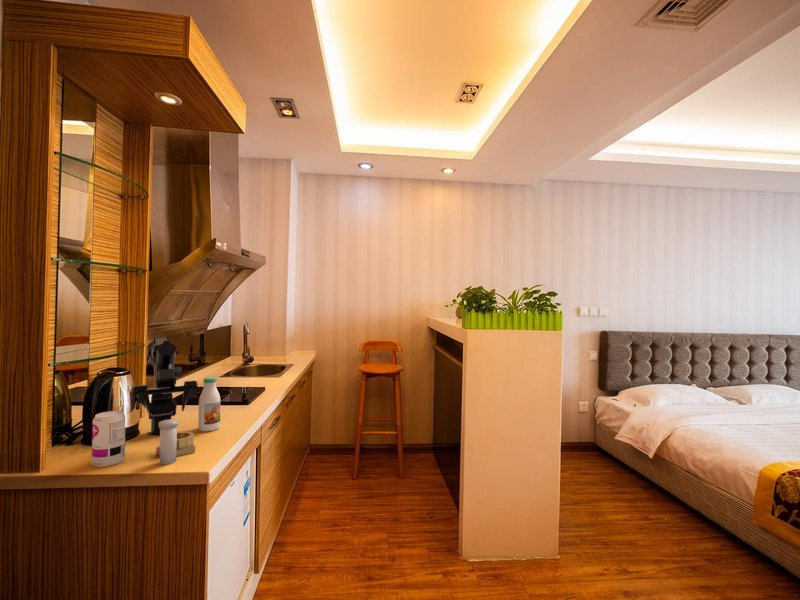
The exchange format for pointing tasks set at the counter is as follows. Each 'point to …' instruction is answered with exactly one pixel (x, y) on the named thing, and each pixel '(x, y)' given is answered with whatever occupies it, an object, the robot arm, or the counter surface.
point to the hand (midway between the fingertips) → (166, 412)
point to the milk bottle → (209, 406)
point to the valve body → (182, 444)
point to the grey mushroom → (168, 441)
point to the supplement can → (108, 438)
